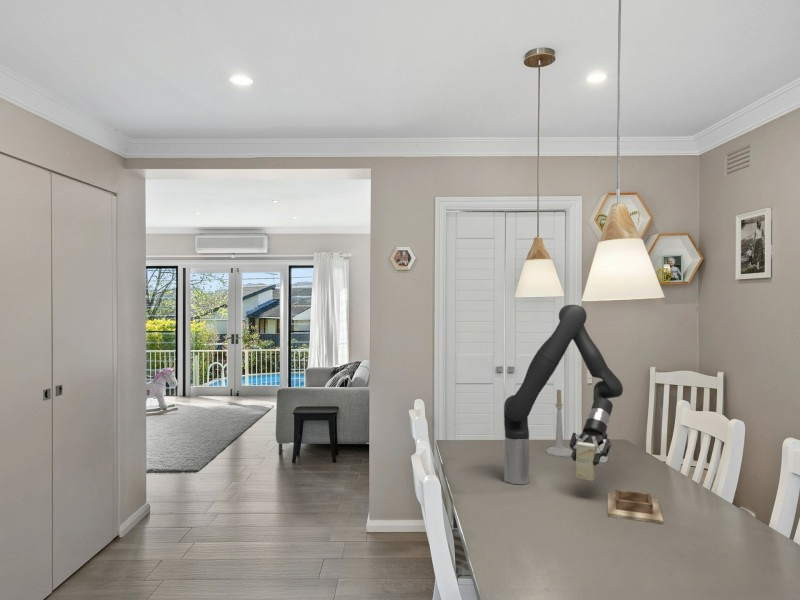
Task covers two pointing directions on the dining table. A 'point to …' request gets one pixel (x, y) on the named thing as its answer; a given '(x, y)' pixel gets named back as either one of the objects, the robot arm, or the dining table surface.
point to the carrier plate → (634, 506)
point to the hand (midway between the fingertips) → (584, 462)
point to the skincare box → (585, 461)
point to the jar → (602, 459)
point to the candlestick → (559, 433)
